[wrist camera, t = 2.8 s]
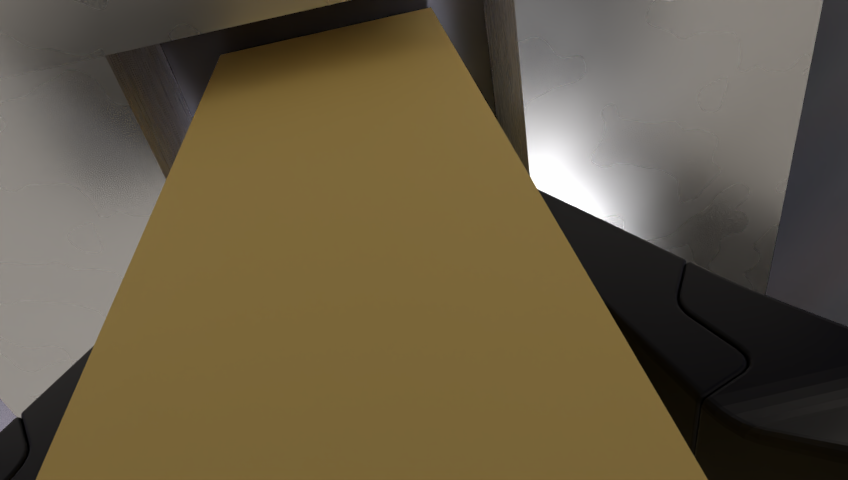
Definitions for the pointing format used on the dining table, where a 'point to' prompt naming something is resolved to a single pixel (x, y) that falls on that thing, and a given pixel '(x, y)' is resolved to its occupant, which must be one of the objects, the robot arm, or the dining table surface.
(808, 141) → the dining table surface
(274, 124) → the peg
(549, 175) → the square hole plate
